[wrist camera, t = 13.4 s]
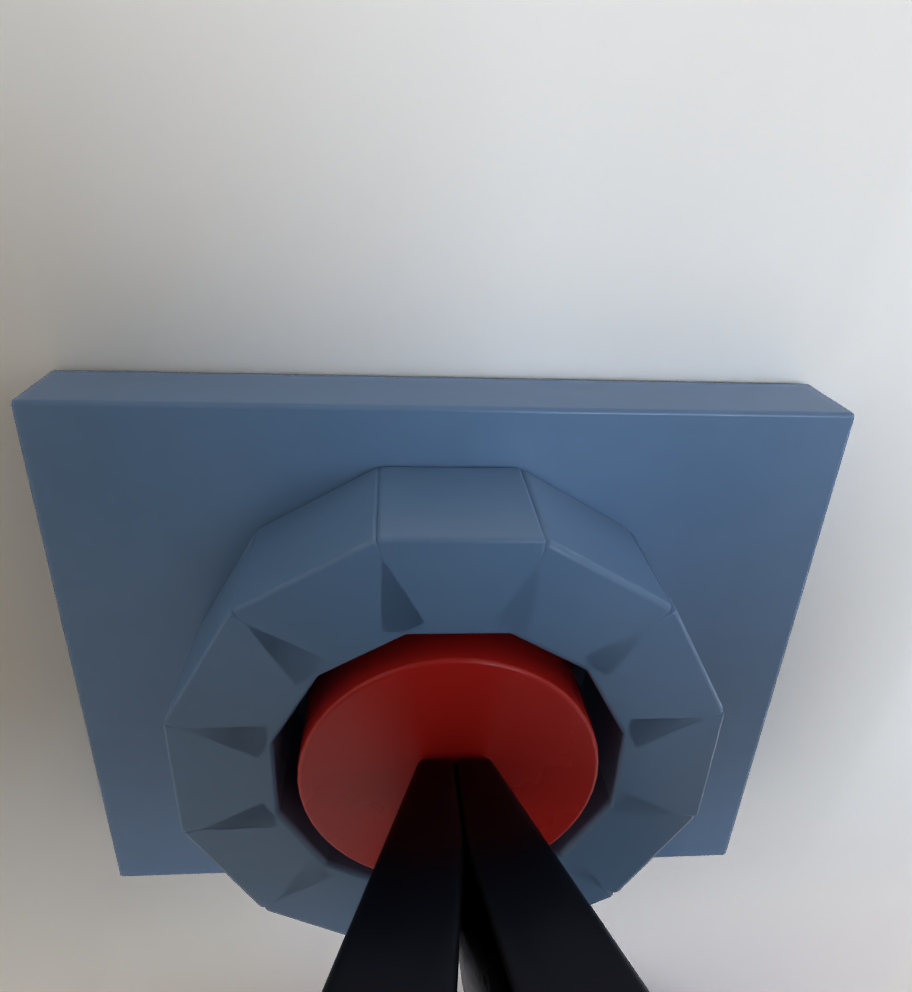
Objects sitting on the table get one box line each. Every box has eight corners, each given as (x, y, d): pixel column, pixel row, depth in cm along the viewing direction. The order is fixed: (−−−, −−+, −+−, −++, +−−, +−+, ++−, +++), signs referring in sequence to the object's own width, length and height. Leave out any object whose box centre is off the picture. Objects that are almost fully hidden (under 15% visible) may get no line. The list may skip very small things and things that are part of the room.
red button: (583, 572, 10) (620, 657, 8) (556, 772, 11) (581, 876, 10) (305, 573, 10) (287, 661, 8) (316, 779, 11) (304, 887, 10)
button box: (809, 383, 10) (954, 475, 8) (700, 800, 14) (773, 962, 11) (50, 369, 10) (-83, 467, 7) (141, 815, 13) (77, 995, 10)
